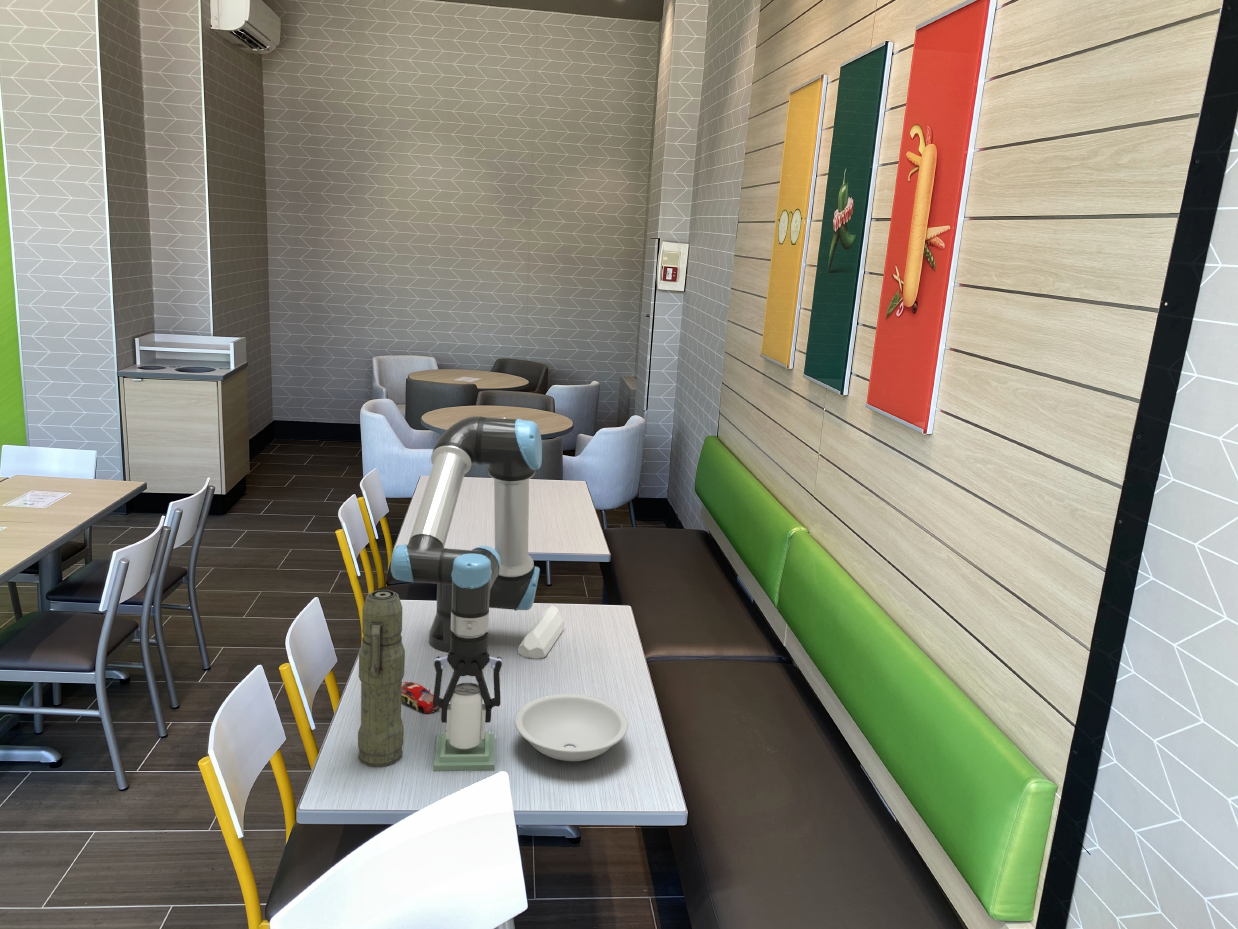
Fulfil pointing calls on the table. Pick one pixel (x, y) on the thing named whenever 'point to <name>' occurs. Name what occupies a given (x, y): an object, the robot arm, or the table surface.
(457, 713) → the can
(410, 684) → the race car
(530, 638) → the crystal
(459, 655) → the robot arm
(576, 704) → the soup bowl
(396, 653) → the thermos
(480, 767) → the baseplate
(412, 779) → the table surface
